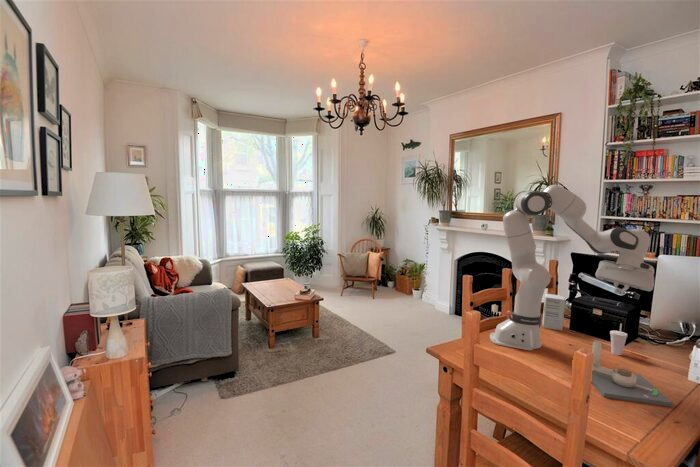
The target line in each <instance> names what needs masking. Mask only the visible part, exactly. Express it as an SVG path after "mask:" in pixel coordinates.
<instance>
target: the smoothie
mask: <svg viewBox="0 0 700 467" xmlns="http://www.w3.org/2000/svg"><path fill="white" fill-rule="evenodd" d="M622 326H623V324H622V323H620V324H619V330H614V329H613V330H610V331H609V334H610V347H611V348H610V349H611V351H610V352H611V354H612V355H614V354H615V355H614V356H619V355H621V356H622V355H623V352H624V348H625V344H626V340H627V338H628V333H626V332H624V331H622Z"/></svg>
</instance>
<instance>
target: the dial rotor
mask: <svg viewBox="0 0 700 467" xmlns="http://www.w3.org/2000/svg"><path fill="white" fill-rule="evenodd" d="M602 344H603V343H602V342H600V341H597V340H593V341H592V347H591V348H592V350H591V354H592V353H593V354H594V362H593V370H595V371H598V372H601V373H605V374H608V375H611V376H612V381H613V382H614V383H616V384H618V385H621V386H624V387H630V388H633V387H635V386H637V387H640V388H643V389H646V390H649V391H652V389H649V388H646V387H643V386H639V385H636V378H637V377H636V376H635V375H634V374H635V373H632V371H629V370H628V369H624V368H618V369H611V368H608V367H605V366H602V365H601V357H602V356H601V355H602V347H603V346H602Z"/></svg>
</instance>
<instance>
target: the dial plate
mask: <svg viewBox="0 0 700 467" xmlns="http://www.w3.org/2000/svg"><path fill="white" fill-rule="evenodd" d="M633 374H634V375H635V376H636V377H637V378H636V385H639V386H643V387H646V388H649V389H652V391H649V390H646V389H643V388H640V387H637V386H635V387H633V388H630V387H624V386H621V385H618V384H616V383H614V382H613V381H612V376H611V375H608V374H605V373H601V372H598V371H595V370H593V371H592V383H591V384H592V385H593V386H594V388H596V390H597V391H598V392H599V393H600V395H601V396H602V397H603V398H607V399H615V400H620V401H626V402H627V401H629V402H635V403H643V404H648V405H654V406H655V405H656V406H663V407H671V408H673V405H674V402H673V401H672V400H670V399H669V398H668V397H667V396H666V395H664V394H663V392H662V391H660V390H659V389H658V388H657V387H656V386H654V385H653V384H652V383H651V382H649V381H648V380H647V379H646V378H645V377H644V376H642V375H641V374H637V373H633Z"/></svg>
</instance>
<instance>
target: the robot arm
mask: <svg viewBox="0 0 700 467" xmlns="http://www.w3.org/2000/svg"><path fill="white" fill-rule="evenodd" d="M511 205H512V206H511V210H510V211H507V212H506V213H505V214H504V215H503V217H502V223H503V230H504V235H505V238H506V242H507V244H508V248H509V252H510V258H511V266H512V267H511V271H512V273H513V276H514V277H515V278H516V279H517V280H518V281H520V284H519V287H518V290H517V293H516V294H515V296H514V305H513V306H514V308H513V309H514V310H513V311H511V310H507V311H506V314H507V315H508V319H506V320H503V321H502V322H500V323H498V324H497V325H496V328H495V330H494V332H490V334H489V340H490V341H491V343H493V344H495V345H498V346H504V347H508V348H513V349H514V348H515V349H520V350H523V351H524V350H526V351H533V350H535V349H537V350H538V349H540V348H541V347H542V340H541V333H540V328H541V323H542V315H541V310H542V309H541V308H542V300H543V296H544V295H545V290H546V288H547V287H548V286H549V284H550V283H551V280H552V277H551V276H552V275H551V274H550V272H549V270H548V269H547V268H546V267H545V266H544V265H542V264H539V263H538V262H537V258H536V249H537V245H536V242H535V239H534V235H533V232H532V228H531V225H530V217H531V216H538V215H540V214H542V213H544V212H546V211H547V210H550V211H551V212H553V213H554V214H556V215H557V216H559V217H560V218H561V219H562V220H563V222H564V223H565V224H566V225H567V227H568V228H569V229H571V230H572V231H573V232H574V233H575V234H576V235H578V236H579V237H580V238H581V239H582V240H584V241H585V243H586V244H587V245H588V247H589V248H590V250H591V251H592V252H594V253H596V254H599V255H604V254H608V253H611V252H616V251H617V252H618V257H617V260H616V261H614V260H613V261H612V260H608V259H604V260H600V261H599V263H598V268H597V269H596V272H595V274H594V275H595V278H596V279H597V280H600V281H604V282H605V281H606V282H609V283H613V286H614V288H615V289H614V291H613V292H614V293H615V294H619V295H622V296H623V295H624V293H625V292H626V291H627V290H629V289H630V288H634V289H636V290H637V289H639V290H642V291H646V292H651V291H653V289H654V287H655V286H654V285H655V276H654V275H655V268H654V266H653V265H651V264H648V263H646V262H644V261H645V256H646V255H647V253H648V250H649V247H650V243H651V238H650V237H651V236H650V234H649V233H648V232H647V231H645V230H643V229H639V228H632V229H628V228H624V227H620V226H619V227H614V228H610V229H607V230H604V231H598V230H595V229H594V228H593V227H591V226H590V225H589V224H588V223H587V222H586V221H584V219H583V218H584V216H585V214H586V212H587V204H586V202H585V200H583V199H582V198H581V197H580V196H578V195H576V194H575V193H574V192H572V191H570V190H568V189H566V188H564V187H562V186H560V185H557V184H551V185H547V187H545V188H544V189H543V191H539V190H538V191H537V190H522V191H520V192H518V193H517V194H516V195H515V197H514V198H513V203H512V204H511ZM619 285H621V286H624V287H622V288H618V286H619Z"/></svg>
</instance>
